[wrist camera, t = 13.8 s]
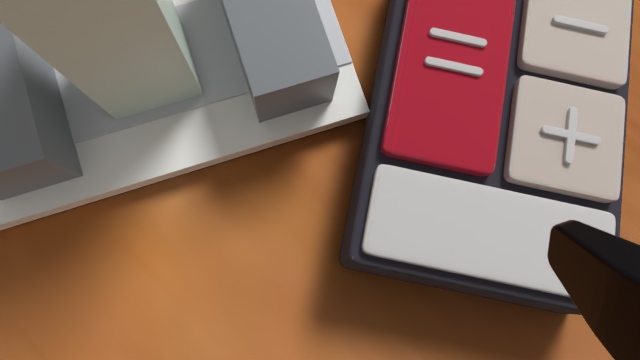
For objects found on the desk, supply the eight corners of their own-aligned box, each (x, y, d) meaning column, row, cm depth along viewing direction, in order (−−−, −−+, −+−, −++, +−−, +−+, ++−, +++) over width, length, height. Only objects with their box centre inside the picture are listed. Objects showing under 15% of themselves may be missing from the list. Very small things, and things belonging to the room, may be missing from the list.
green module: (203, 94, 23) (136, -39, 13) (115, 119, 22) (-24, 2, 12) (179, 15, 23) (97, -170, 13) (93, 38, 23) (-58, -136, 13)
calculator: (647, -19, 22) (629, 320, 19) (590, 30, 27) (567, 315, 23) (410, -73, 22) (348, 261, 19) (390, -15, 26) (336, 267, 23)
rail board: (301, -63, 25) (304, -133, 21) (366, 117, 24) (383, 84, 20) (-62, 32, 23) (-144, -22, 19) (-15, 235, 22) (-92, 227, 18)
